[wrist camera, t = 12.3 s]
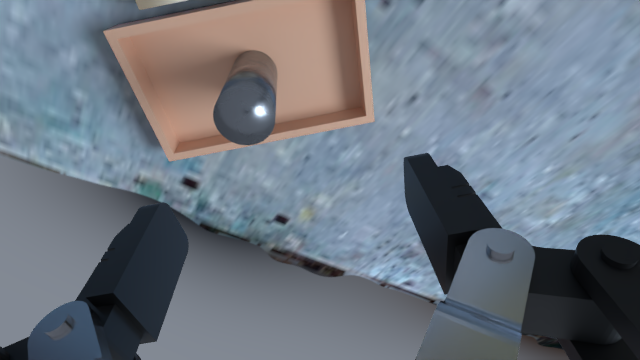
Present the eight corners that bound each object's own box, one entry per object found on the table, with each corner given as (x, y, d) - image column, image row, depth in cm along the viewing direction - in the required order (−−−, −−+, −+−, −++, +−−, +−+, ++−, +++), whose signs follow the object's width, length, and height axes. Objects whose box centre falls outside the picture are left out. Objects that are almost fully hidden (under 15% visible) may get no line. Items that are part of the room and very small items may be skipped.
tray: (356, -25, 30) (363, -22, 27) (368, 110, 37) (374, 121, 35) (117, 24, 30) (102, 31, 28) (176, 147, 37) (169, 161, 35)
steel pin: (271, 46, 32) (266, 82, 23) (282, 90, 34) (281, 139, 25) (226, 55, 32) (203, 95, 23) (240, 98, 34) (224, 150, 25)
